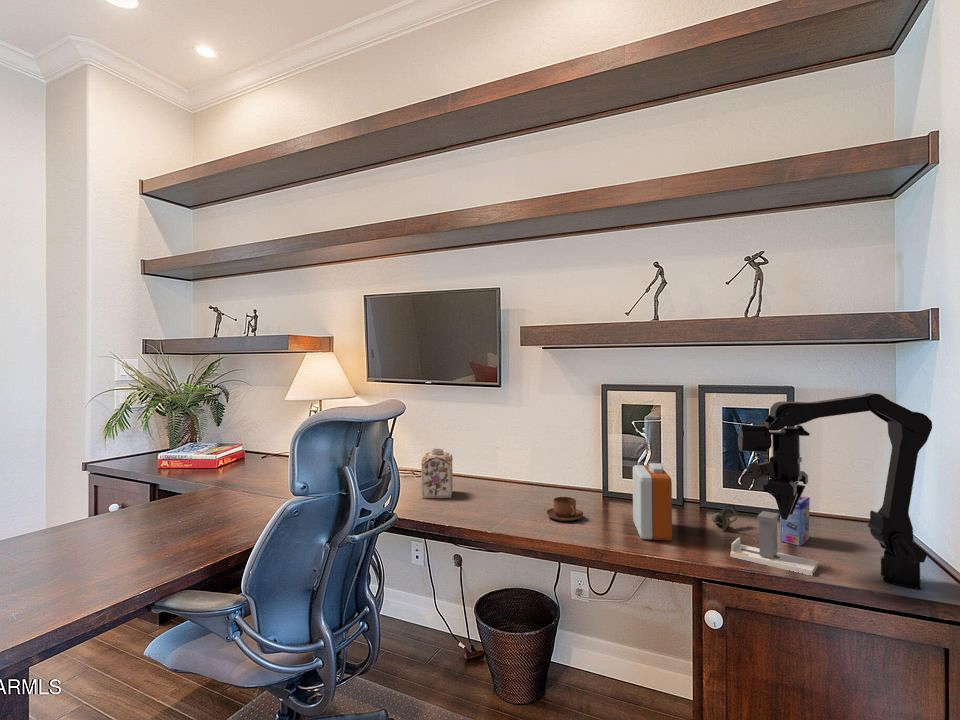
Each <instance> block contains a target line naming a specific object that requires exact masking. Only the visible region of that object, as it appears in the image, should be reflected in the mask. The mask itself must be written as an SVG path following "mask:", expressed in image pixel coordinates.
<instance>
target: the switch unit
mask: <svg viewBox="0 0 960 720" xmlns="http://www.w3.org/2000/svg"><path fill="white" fill-rule="evenodd" d="M730 545H731V547H730V549H731V551H730V558H735V559H740V560H742V561H748V562H752V563H756V564H760V565H765V566H769V567H772V568H778V569H780V570H781V569H782V570H785V571H789V570H790V572H793V571H794V572H793V573H798V572H799V573H798V574H802V573H803V574H802V575H807V576H810V575H811V577H812V576H813V575H814V574H815V572H816V570H817V568H818V566H819V563H818V560H814V559H809V558H805V557H800V556H797V555H792V554H791V555H790V554H787V553H783V552H778V553H777V554H776V556H775V557H774V558H773V559H772V558H768V557H764V556H760V547H754V546H750V545H745V544H741V537H737V538H736V539H735V540H734V541H733V542H732V543H731V544H730ZM813 573H814V574H813Z"/></svg>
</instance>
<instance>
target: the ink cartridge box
mask: <svg viewBox="0 0 960 720" xmlns="http://www.w3.org/2000/svg"><path fill="white" fill-rule="evenodd" d="M810 499H811V498H810V497H809V496H804V495H801V497H800V499H799V501H798V503H797V505H796V507H795V510H794V512H793V514H792V515H790V514H789V516H788V519H787V520H783V519H782V518H781V515H780V514H779V515H780V517H779V520H780V521H779V522H780V523H779V526H780V527H779V529H780V530H779V541H780V542H783V543H786V544H790V545H793V546H798V547H801V546H802V545H803V544H804V543H805V542H807V541H808V540H809V538H810V537H809V536H810V535H809V534H810Z"/></svg>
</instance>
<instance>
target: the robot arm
mask: <svg viewBox="0 0 960 720" xmlns="http://www.w3.org/2000/svg"><path fill="white" fill-rule="evenodd" d="M864 412H871V413H872V414H873V415H874V416H876V417H878V419H881V420H882V421H884V422H886V423H887V434H888V437H889V440H890V444H891V452H890V453H891V454H890V458H889V464H888V471H887V477H886V483H885V484H886V485H885V491H884V495H883V496H884V497H883V501H882V506H881V507H880V508H879V510H878V511H875V510H872V509H871V510H870V512H869V518H870V519H869V522H868V524H867V527H868V528H869V529H870V534H871V536H872V537H873V538H874V539H875V541H877V542H878V543H879V545H880V547H881V549H884V552H883V555H882V556H881V558H880V576H881V577H882V578H883V579H882V581H883V582H884V583H889V584H894V585H897V586H902V587H906V588H910V589H915V590H919V591H920V590H921V589H922V579H921V563H923V564H924V563H925V561H926V558H927V556H928V554H927V552H926V551H925V550H923V549H922V548H921V547H920V546H918V544H916V543H915V542H914V527H913V524H912V521H911V517H910V514H909V511H910V505H911V498H912V494H913V493H912V492H913V485H914V481H915V473H916V469H917V461H918V457H919V456H918V455H919V453H920V450H921V449H922V448H923V447H924V446H925V444H926V443H927V441H928V440H929V437H930V434H931V432H932V430H933V422H932V420H931V419H930V418H929V417H928V416H927V415H926V414H924V413H922V412H918V411H914V410H913V411H911V410H909V408H906V407H904V406H902V405H900V404H899V403H896V402H894V401H892V400H890V399H888V398H887V397H885V396H883V395H882V394H880V393H874V392H873V393H872V392H871V393H870V392H868V393H867V392H866V393H864V394H859V395H854V396H853V395H851V396H844V397H838V398H833V399H832V398H831V399H824V400H818V401H777V402H774V403H773V404H772V405H771V407H770V410H769V415H768V416H767V417H766V418H765V419H764V420H763V421H762V423H761V424H759V425H758V424H756V425H754V424H747V423H740V424H739V430H738V435H737V446H738V450H739V451H740V452H745V453H746V452H748V453H750V452H751V453H752V452H753V453H766V452H767V451H768V450H770V449H771V448H772V456H770V457H769V459H768V460H769V461H765V462H764V461H763V462H758V461H754V462H750V463H748V466H746V475H748V476H749V478H750V480H751V481H752V480H756V479H758V478H764V477H768V479H767V480H766V481H764V483H763V485H762V487H763V488H762V489H763V491H762V492H764V493H768V494H770V495H771V496H772V497H773V498H774V499H775V502H776V505H777V508H778V512H779V515H781V518H782V519H783V520H787V519H788V516H789V514H790V515H792V514H793V512H794V510H795V507H796V505H797V503H798V501H799V499H800V497H801V496H803V492H804V490H805V489H806V485H808V484H809V475H808V474H807V473H806V472H805V471H803V470H801V463H802V461H803V460H802V459H803V458H802V457H801V453H800V451H801V450H800V449H801V446H800V444H801V443H800V440H801V439H800V436H801V437H805V436H806V437H810V435H811V433H810V432H809V431H807V430H805V428H804V427H803V424H806V423H808V422H810V421H813V420H816V419H819V418H827V417H832V416H833V417H834V416H835V417H836V416H841V415H842V416H843V415H848V414H856V413H864ZM795 426H796V427H795ZM801 482H802V483H803V484H800V483H801Z"/></svg>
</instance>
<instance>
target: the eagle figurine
mask: <svg viewBox="0 0 960 720" xmlns="http://www.w3.org/2000/svg"><path fill="white" fill-rule="evenodd" d="M736 512H737V509H736V507H735V505H734V504H731V503H730V504H727V505H725V506H724V507H723V508H722V511H721V513H720V512H717V513H714V514H712V516H711V521H712V522H713V523H716V524H718V525H720V526H722V532H725V530H727V528H728V527H729V528H731V529H732V530H734V526H733V524H732V523H735V522H736V521H737V520H738V517H735V518H733V519H730V518H732V517H734V516H736Z"/></svg>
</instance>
